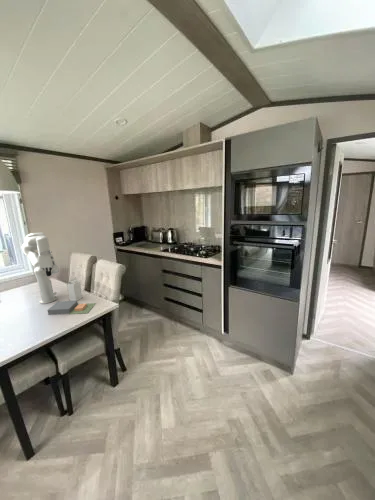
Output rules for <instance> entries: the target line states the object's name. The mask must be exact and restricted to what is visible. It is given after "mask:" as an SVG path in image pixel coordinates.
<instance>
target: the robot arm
mask: <svg viewBox="0 0 375 500" xmlns="http://www.w3.org/2000/svg"><path fill="white" fill-rule="evenodd" d="M21 250H22V252H23V254H24V255H25V256H26V257H27V258H28V259H29V261H30V262H31V265H32V266H33V268H34V269H33V272H34V275H35V278H36V282H37V286H38V289H39V294H40V298H41V299H40V300H39V304H42V305H45V304H51V303H53V302H55V301H56V300H57V299H58V298H57V296H55V295H57V292H56V291H54V288H53V283H52V279H50V278H49V277H51V276H53V275H57V274H58V273H59V270H60V268H59V265H58V264H57V262H56V260H55V259H54V255H53V254H52V253H53V251H52V250H51V248H50V243H49V238H48V237H47V235H46V233H45V232H42V231H41V232H31V233H29V234H27V235H26V236H25V237H24V242H23V244H22V245H21Z"/></svg>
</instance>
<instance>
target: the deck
mask: <svg viewBox="0 0 375 500" xmlns="http://www.w3.org/2000/svg"><path fill="white" fill-rule="evenodd" d="M78 302H79V300H78V301H71V300H61V301H56V302H55V303H54V304H53V305H52V306H50V307H49V308H48V309H46V311H47V315H48V316H49V315H50V316H51V315H52V316H53V315H70V314H69V313H70V312H71V311H72V310H73V309H74V308H75V307H76V306H77V305H78V304H79V303H78Z"/></svg>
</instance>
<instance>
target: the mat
mask: <svg viewBox="0 0 375 500" xmlns="http://www.w3.org/2000/svg"><path fill="white" fill-rule="evenodd" d="M79 304H80V303H78V305H79ZM78 305H77V306H78ZM95 305H96V302H91V303H88V302H87V306H86V307H85V309H84V310H83V311H75V308H76V307H77V306H76V307H75V308H74V309H73V310H72V311H71V312H70V313H69V314H68V315H81V314H82V315H83V314H89V312H90V311H91V310H92V309H93V308H94V306H95Z"/></svg>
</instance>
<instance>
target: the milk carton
mask: <svg viewBox="0 0 375 500" xmlns="http://www.w3.org/2000/svg"><path fill="white" fill-rule="evenodd" d="M66 287H67V292H68V298H69V301H78V302H79V300H81V299H82V298H83V293H82V287H81V281H80V280H79V279H78V278H77V277H73V278H70V279H69V280H68V282H67V283H66Z"/></svg>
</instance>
